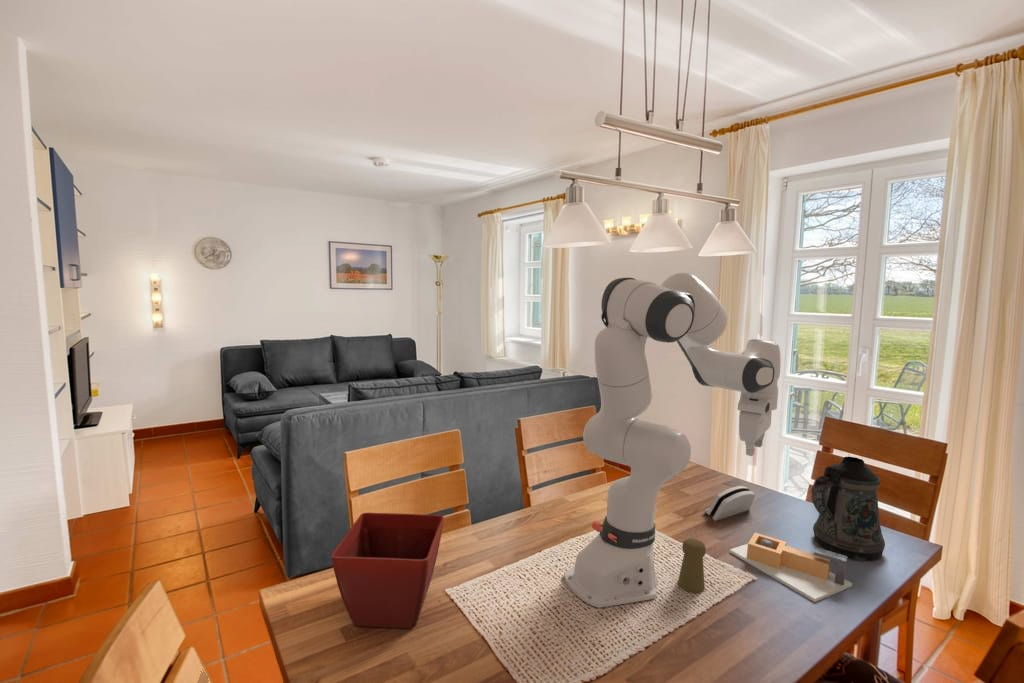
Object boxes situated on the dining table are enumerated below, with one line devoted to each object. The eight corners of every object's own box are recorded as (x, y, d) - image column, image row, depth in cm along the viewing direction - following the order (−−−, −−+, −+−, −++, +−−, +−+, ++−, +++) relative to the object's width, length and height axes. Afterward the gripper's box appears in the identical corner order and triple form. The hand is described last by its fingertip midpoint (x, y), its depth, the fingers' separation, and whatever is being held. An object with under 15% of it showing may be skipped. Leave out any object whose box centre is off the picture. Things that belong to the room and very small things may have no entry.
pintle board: (814, 602, 112) (816, 581, 112) (729, 552, 133) (731, 534, 132) (851, 586, 119) (854, 566, 118) (765, 540, 139) (766, 524, 139)
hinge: (735, 503, 163) (747, 479, 159) (747, 513, 159) (760, 489, 155) (701, 514, 155) (713, 489, 151) (713, 525, 151) (725, 499, 147)
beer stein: (891, 549, 136) (902, 462, 134) (868, 573, 124) (879, 478, 122) (825, 525, 149) (833, 445, 146) (797, 545, 137) (806, 458, 134)
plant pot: (362, 579, 116) (362, 511, 114) (443, 583, 115) (444, 514, 114) (330, 637, 97) (329, 556, 95) (427, 642, 96) (427, 560, 95)
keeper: (811, 578, 122) (813, 551, 121) (812, 572, 124) (815, 546, 123) (843, 588, 118) (846, 561, 117) (844, 583, 120) (847, 556, 119)
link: (746, 558, 128) (747, 543, 128) (753, 546, 134) (754, 532, 134) (826, 584, 118) (827, 569, 117) (829, 570, 124) (831, 555, 123)
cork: (672, 580, 119) (675, 537, 118) (691, 575, 121) (695, 533, 120) (690, 595, 113) (693, 550, 112) (710, 589, 116) (714, 545, 115)
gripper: (754, 392, 142) (750, 439, 143) (736, 404, 126) (731, 457, 127) (779, 395, 138) (775, 444, 139) (763, 409, 122) (758, 463, 123)
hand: (754, 450), depth 133 cm, fingers open, 8 cm apart
